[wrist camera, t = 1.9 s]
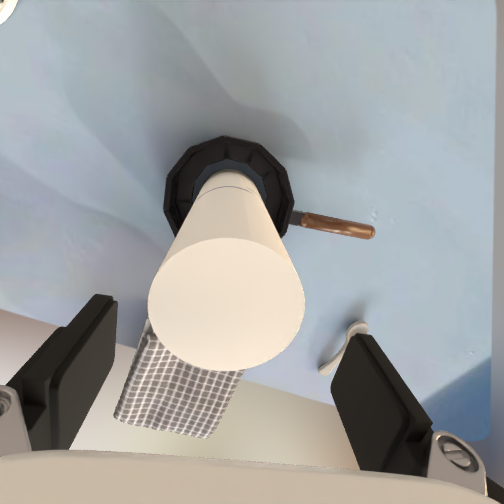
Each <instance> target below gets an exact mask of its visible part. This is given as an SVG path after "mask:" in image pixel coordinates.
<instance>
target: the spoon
mask: <svg viewBox="0 0 504 504" xmlns="http://www.w3.org/2000/svg"><path fill="white" fill-rule="evenodd" d="M356 333H361V334H367V333H368V325H367V323H366V322H364V321H356V322H354V323H353V324H351V325H350V326H349V327H348V329H347V332H346V342H345V344H344V345H343V347H342V348H341V350H340V351H339V352H338V353H337V354H336V355H335V356H334V357H333V358H332V359H331V360H329V361H328V362H327V363H326V364H324V365H323V366H321V367H320V368H319V369H318V373H319V374H321V375H324V376H326V375H328V374H329V373H330V372H331V371H332V370H333V369H334V368H335V367H336V365H337V364H338V363H339V362H340V361H341V359H342V356H343V354H344V352H345V349H346V347H347V344H348V342H349V340H350V338H351V336H354V335H355V334H356Z"/></svg>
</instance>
